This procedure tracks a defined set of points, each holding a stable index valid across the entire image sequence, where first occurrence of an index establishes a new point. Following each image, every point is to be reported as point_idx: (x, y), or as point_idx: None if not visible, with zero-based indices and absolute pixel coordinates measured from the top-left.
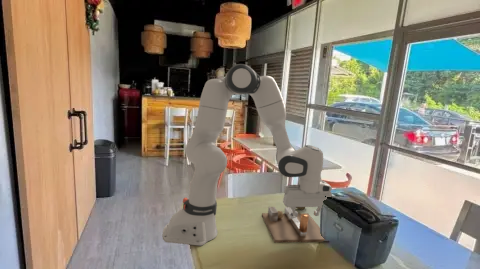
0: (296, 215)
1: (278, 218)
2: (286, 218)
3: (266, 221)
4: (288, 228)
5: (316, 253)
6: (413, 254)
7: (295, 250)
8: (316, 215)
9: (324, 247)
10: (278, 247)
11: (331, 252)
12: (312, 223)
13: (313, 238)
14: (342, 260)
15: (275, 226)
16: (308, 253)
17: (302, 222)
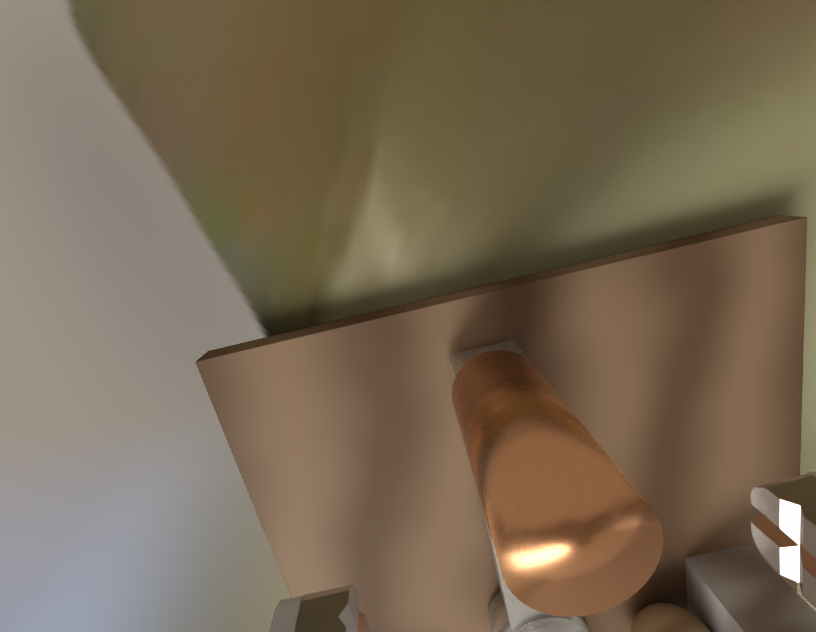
0: (800, 491)
1: (664, 603)
2: None
3: None
4: None
5: (375, 105)
6: None
7: (592, 116)
8: (328, 594)
9: (271, 239)
10: (760, 136)
11: (209, 159)
12: None
13: (371, 337)
14: (104, 23)
15: (726, 469)
16: (463, 87)
17: (577, 421)
